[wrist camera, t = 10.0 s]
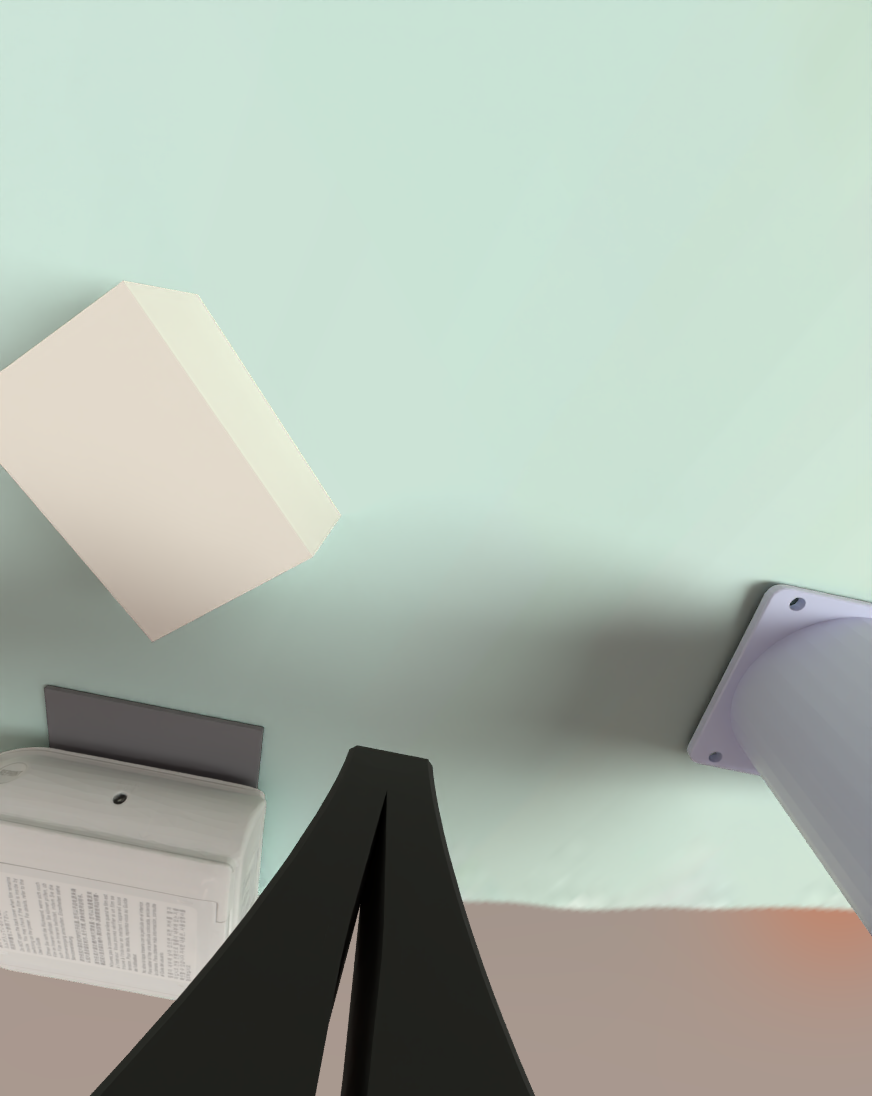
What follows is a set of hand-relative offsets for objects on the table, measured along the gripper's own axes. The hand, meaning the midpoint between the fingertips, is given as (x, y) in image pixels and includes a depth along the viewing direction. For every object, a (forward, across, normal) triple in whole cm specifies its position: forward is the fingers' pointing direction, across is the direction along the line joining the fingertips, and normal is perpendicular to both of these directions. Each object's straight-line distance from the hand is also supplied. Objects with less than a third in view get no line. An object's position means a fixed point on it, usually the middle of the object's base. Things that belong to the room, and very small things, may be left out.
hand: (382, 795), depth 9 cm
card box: (+11, +8, -2) cm, 14 cm away
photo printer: (+8, +4, +16) cm, 18 cm away
